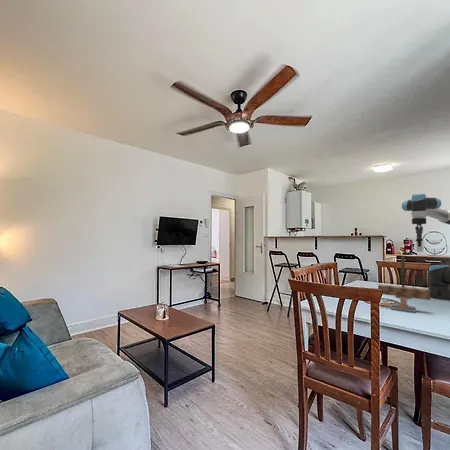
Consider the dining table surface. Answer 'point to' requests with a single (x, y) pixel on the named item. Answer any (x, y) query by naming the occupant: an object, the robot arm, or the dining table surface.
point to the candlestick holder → (403, 273)
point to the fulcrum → (403, 306)
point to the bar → (405, 292)
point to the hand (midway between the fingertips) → (419, 251)
